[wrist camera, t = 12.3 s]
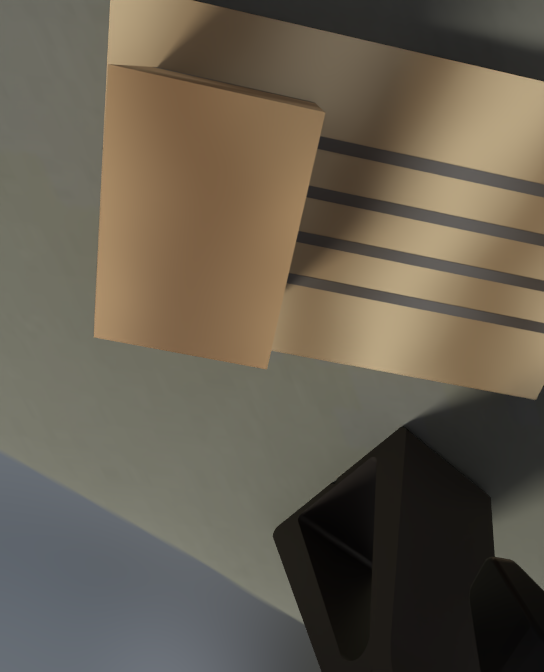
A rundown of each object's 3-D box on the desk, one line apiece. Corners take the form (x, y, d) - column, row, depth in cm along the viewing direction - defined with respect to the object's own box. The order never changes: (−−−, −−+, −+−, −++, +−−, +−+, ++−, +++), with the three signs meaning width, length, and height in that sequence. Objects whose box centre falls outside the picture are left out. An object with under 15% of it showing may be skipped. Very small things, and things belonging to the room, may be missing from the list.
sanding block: (314, 102, 16) (325, 112, 12) (270, 301, 20) (266, 369, 15) (157, 66, 16) (108, 64, 12) (138, 276, 19) (93, 337, 15)
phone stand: (404, 423, 23) (505, 717, 13) (488, 492, 25) (639, 801, 14) (272, 529, 27) (263, 836, 16) (354, 584, 28) (397, 894, 18)
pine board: (658, 111, 17) (683, 114, 16) (523, 384, 22) (536, 400, 21) (122, -13, 16) (111, -19, 15) (104, 305, 21) (94, 317, 20)
